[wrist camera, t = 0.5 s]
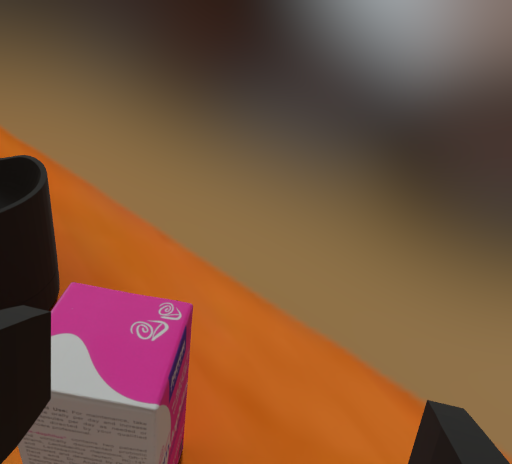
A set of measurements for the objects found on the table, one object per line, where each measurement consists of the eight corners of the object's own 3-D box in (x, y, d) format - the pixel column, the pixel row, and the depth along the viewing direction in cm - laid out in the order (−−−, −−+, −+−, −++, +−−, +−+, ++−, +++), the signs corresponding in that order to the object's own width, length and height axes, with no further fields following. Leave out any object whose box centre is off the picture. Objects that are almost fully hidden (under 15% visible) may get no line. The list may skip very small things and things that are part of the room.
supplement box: (159, 559, 23) (155, 414, 16) (38, 536, 23) (-14, 384, 16) (188, 445, 27) (194, 298, 21) (88, 428, 28) (63, 277, 21)
